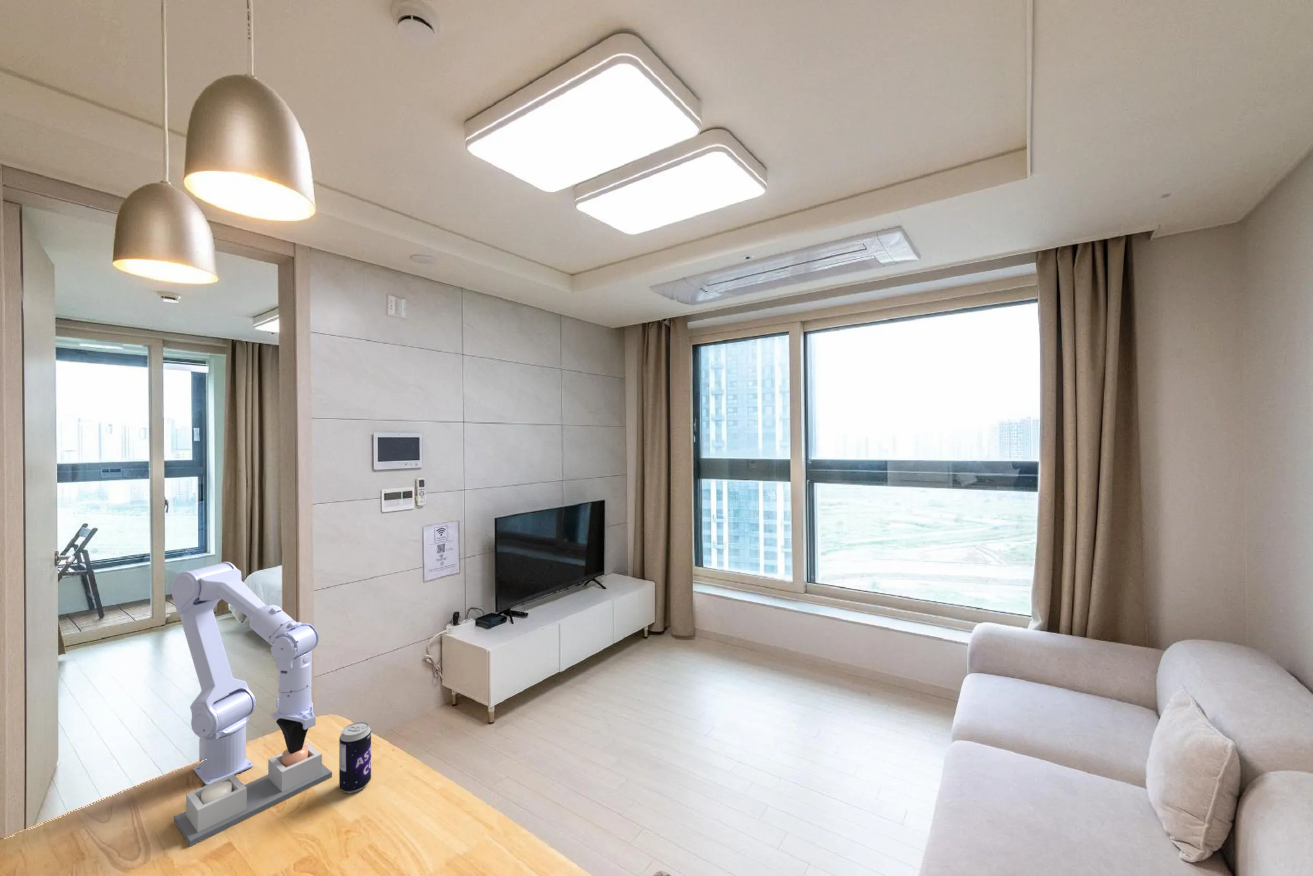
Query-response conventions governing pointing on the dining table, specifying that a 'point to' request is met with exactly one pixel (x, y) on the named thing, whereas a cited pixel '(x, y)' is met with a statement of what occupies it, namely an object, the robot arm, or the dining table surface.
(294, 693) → the robot arm
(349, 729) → the beverage can
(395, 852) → the dining table surface
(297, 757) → the terracotta plug
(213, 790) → the cream plug
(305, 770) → the plug panel
